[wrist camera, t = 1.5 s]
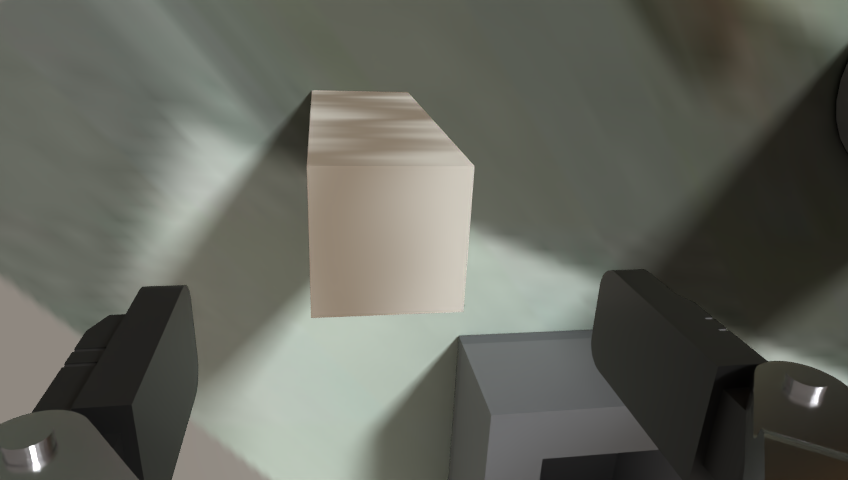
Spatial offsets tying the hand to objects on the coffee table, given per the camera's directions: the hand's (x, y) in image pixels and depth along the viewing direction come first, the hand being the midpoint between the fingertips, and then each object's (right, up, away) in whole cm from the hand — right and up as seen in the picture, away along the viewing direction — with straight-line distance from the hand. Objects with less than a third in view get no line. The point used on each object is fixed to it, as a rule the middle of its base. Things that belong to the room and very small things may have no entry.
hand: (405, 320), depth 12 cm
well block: (+8, -9, +22) cm, 25 cm away
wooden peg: (-2, +6, +14) cm, 16 cm away
